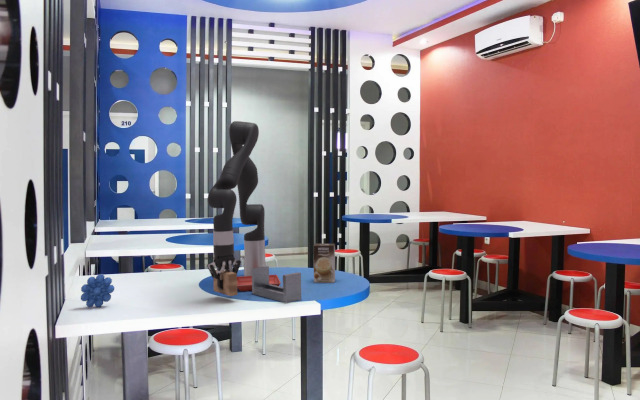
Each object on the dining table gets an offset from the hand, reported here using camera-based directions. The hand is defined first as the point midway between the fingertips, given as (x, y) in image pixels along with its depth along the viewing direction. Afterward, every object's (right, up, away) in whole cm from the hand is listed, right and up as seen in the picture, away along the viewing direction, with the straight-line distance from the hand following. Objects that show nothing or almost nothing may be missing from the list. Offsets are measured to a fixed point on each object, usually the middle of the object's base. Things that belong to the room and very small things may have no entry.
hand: (225, 288), depth 202 cm
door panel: (0, -2, 0) cm, 2 cm away
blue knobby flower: (-45, -6, -7) cm, 46 cm away
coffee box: (+38, -2, +30) cm, 48 cm away
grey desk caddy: (+19, -4, +3) cm, 19 cm away
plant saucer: (+10, -4, +23) cm, 25 cm away
